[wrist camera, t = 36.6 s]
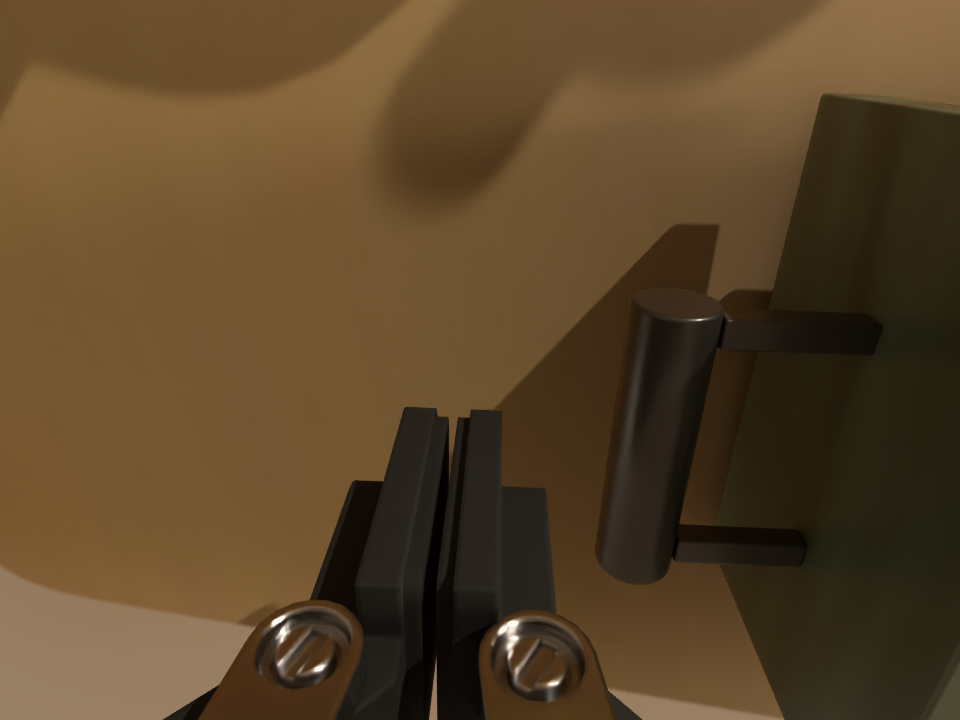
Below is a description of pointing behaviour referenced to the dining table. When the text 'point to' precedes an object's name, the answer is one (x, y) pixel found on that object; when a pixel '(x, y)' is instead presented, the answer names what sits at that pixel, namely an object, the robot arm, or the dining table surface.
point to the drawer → (821, 427)
